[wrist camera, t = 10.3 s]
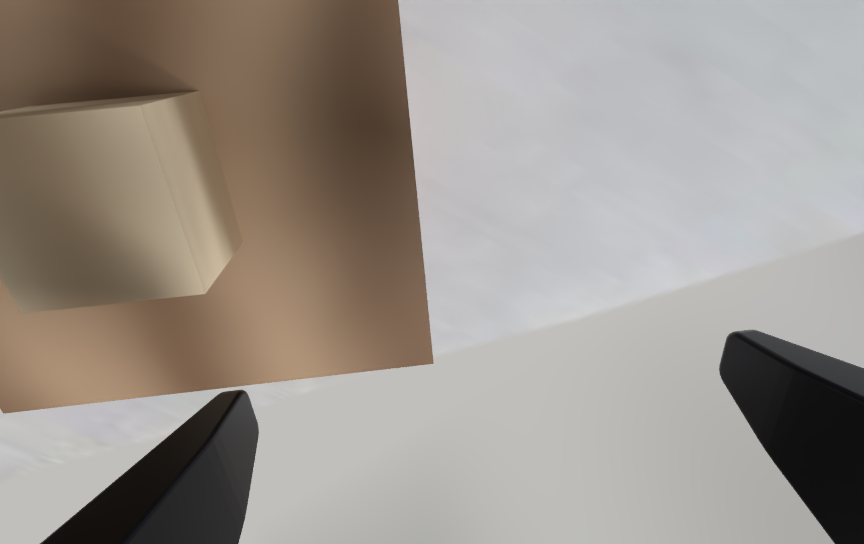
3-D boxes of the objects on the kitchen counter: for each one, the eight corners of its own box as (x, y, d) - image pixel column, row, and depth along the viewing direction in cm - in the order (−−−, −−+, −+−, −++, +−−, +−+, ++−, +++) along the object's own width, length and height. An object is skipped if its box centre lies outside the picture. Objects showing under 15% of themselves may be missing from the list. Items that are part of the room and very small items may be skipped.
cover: (379, -185, 10) (373, -307, 6) (431, 349, 16) (442, 430, 13) (-314, -136, 9) (-720, -241, 6) (21, 396, 16) (-82, 494, 12)
